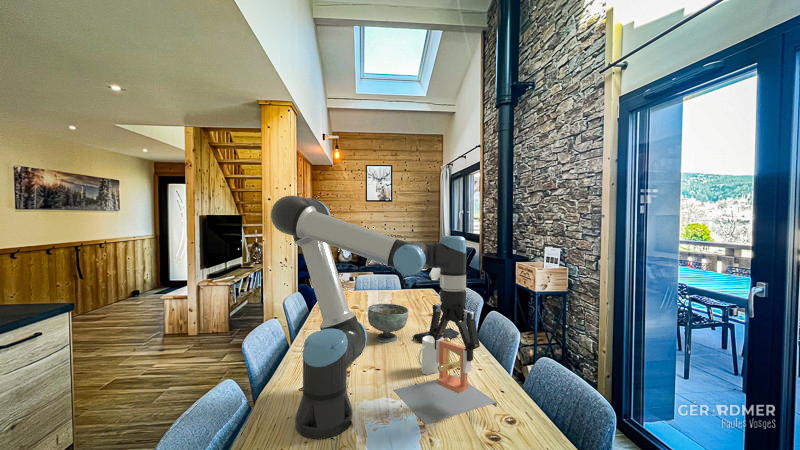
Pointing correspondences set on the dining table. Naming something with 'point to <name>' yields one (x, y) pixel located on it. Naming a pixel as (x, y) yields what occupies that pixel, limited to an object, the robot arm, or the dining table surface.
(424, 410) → the board
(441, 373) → the orange rectangular frame
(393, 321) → the bowl
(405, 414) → the dining table surface
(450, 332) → the dark slate chunk
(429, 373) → the mug
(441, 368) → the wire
